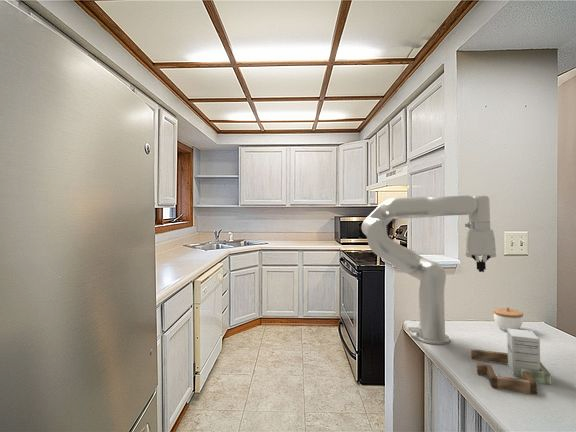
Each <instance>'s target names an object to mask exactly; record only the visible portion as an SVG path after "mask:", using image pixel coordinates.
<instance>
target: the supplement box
mask: <svg viewBox="0 0 576 432" xmlns="http://www.w3.org/2000/svg"><path fill="white" fill-rule="evenodd" d="M506 332H507V333H506V335H507V336H506V337H507V340H506V341H507V353H508V363H507V366H508V367H509V369H510V371H511V374H512V376H514V375H515V377H521V369H529V370H537V371H540V362H541V345H540V344H541V340H540V337H538V335H537V334H536V333H535V332H534V331H533V330H528V329H507V331H506Z"/></svg>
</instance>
